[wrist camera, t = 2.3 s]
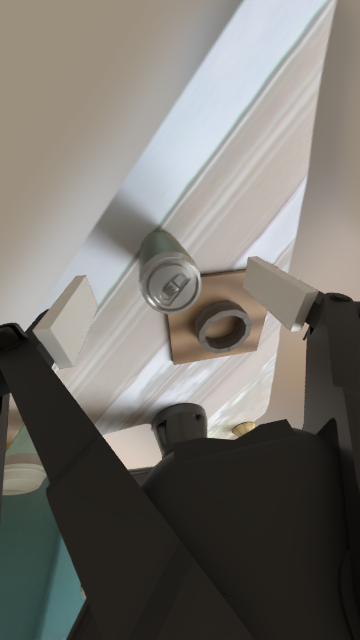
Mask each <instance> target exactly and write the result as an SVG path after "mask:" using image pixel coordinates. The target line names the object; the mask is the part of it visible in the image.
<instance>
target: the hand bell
mask: <svg viewBox="0 0 360 640" xmlns="http://www.w3.org/2000/svg"><path fill="white" fill-rule="evenodd" d="M254 428H255V423H253V422H246V423H243V424H240V425H238V426H236V427H235V428H234V429H233V431H232V432H233V433H234V434H235V435H237V436H238V437H241V436H242V435H244V434H246V433H247V432H249V431H250V430H252V429H254Z"/></svg>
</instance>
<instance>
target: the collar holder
mask: <svg viewBox="0 0 360 640" xmlns="http://www.w3.org/2000/svg"><path fill="white" fill-rule="evenodd" d="M275 267H276V266H275ZM277 268H278V267H277ZM245 273H246V270H239V271H231V272H222V273H214V274H206V275H201V282H202V284H201V292H200V294H199V297H198V299H197V300H196V302H195V303H194V304H193V305H192V306H191V307H189V308H188V309H186V310H185V311H182V312H179V313H176V314H168V322H169V331H170V340H171V348H172V357H173V364H174V365H177V364H183V363H189V362H194V361H200V360H206V359H211V358H217V357H223V356H229V355H234V354H240V353H246V352H252V351H257V347H258V343H259V340H260V336H261V332H262V329H263V325H264V321H265V317H266V314H267V309H266V308H265V307H264V306H263V305H261V304H260V303H259V302H258V301H257V300H256V299H255V298H254V297H253V296H252V295H251V294H250V293H249V292H248V291H247V290H246V289H244V288H243V284H244V278H245Z"/></svg>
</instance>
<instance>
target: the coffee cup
mask: <svg viewBox="0 0 360 640" xmlns="http://www.w3.org/2000/svg"><path fill="white" fill-rule="evenodd" d="M45 478H46V472H45V470H44V468H43V465H42V463H41V461H40V458H39V456H38V454H37V452H36V449H35V447H34V445H33V442H32V440H31V438H30V435H29V433H28V431H27V428H26V426H25V424H24V425H23V427H22V428H21V430H20V431H19V433H18V434H17V436H16V438H15V439H14V441H13V442H12V444H11V445H10V447H9V448H8V450H7V451H6V453H5V466H4V480H3V494H2V495H16V494H23V493H28V492H31V491H34V490H36V489H38V488H39V487H40V485H41V484H42V482H43V480H44V479H45Z"/></svg>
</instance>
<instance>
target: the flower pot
mask: <svg viewBox="0 0 360 640" xmlns="http://www.w3.org/2000/svg"><path fill="white" fill-rule="evenodd" d="M48 485H49V480H48V477H47V475H46V478H45V479H44V480H43V482H42V484H41V485H40V487H39V488H38V489H36V490H34V491H31V492H28V493H23V494H16V495H2V508H1V521H0V640H66V638H67V636H68V634H69V632H70V630H71V628H72V626H73V624H74V622H75V620H76V618H77V616H78V614H79V612H80V610H81V608H82V606H83V604H84V601H85V600H84V599H83V597H82V595H81V593H80V586H81V583H80V581H79V578H78V576H77V573H76V571H75V570H74V566H73V563H72V561H71V558H70V556H69V553H68V551H67V548H66V546H65V543H64V541H63V538H62V536H61V533H60V531H59V528H58V526H57V523H56V521H55V518H54V516H53V513H52V511H51V508H50V505H49V503H48V499H47V496H46V488H47V487H48Z"/></svg>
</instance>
